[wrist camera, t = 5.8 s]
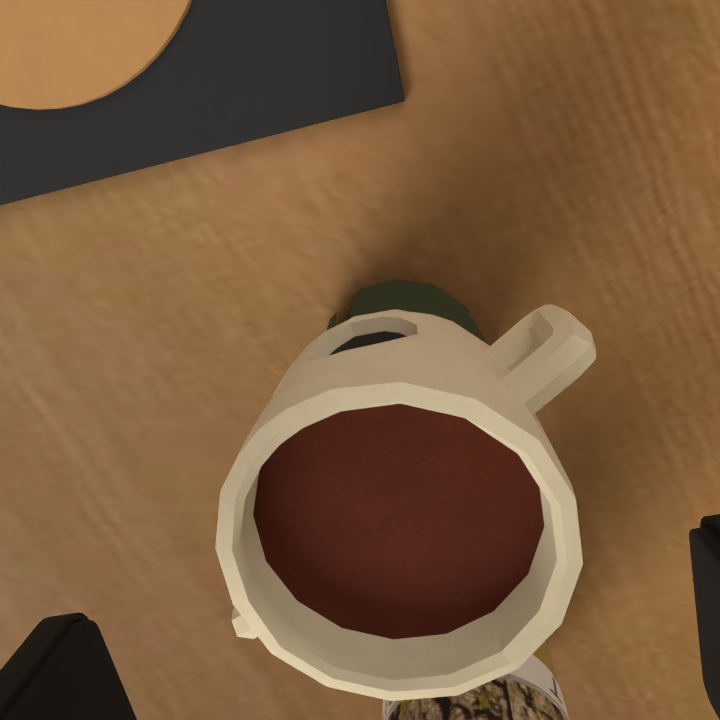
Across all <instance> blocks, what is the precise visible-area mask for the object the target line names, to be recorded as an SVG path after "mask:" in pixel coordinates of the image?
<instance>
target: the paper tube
mask: <svg viewBox="0 0 720 720" xmlns="http://www.w3.org/2000/svg"><path fill="white" fill-rule="evenodd" d="M382 720H569V716H568V713H567V709H566V706H565V703H564V699H563V696H562V692H561V690H560V687H559V684H558V681H557V677H556V674H555V670H554V667H553V663H552V660H551V656H550V653H549V649H548V646H547V642H546V640H545V641H544V642H543V643H542V644H541V645H540V646H539V648H538V649H537V650H536V651H535V652H534V653H533V654H532V655H531V656H530V657H529V658H528V659H527V660H526V661H525V662H524V663H523V664H522V665H521V666H520V667H519V668H518V669H517V670H514V671H512V672H510V673H508V674H505V675H503V676H501V677H499V678H496V679H494V680H492V681H489V682H487V683H485V684H483V685H480V686H478V687H476V688H474V689H471V690H469V691H467V692H465V693H462V694H460V695H457V696H445V697H434V698H422V699H410V700H398V701H389V700H384V699H383V712H382Z"/></svg>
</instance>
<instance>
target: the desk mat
mask: <svg viewBox="0 0 720 720" xmlns="http://www.w3.org/2000/svg"><path fill="white" fill-rule="evenodd" d="M403 101H405V98H404V93H403V88H402V83H401V77H400V72H399V67H398V62H397V57H396V52H395V47H394V42H393V37H392V32H391V27H390V22H389V17H388V12H387V6H386V1H385V0H0V205H3V204H7V203H11V202H14V201H18V200H22V199H26V198H30V197H34V196H38V195H42V194H46V193H49V192H53V191H57V190H61V189H65V188H69V187H73V186H77V185H81V184H84V183H88V182H92V181H96V180H100V179H104V178H108V177H112V176H116V175H119V174H123V173H127V172H131V171H135V170H139V169H143V168H147V167H151V166H154V165H158V164H162V163H166V162H170V161H174V160H178V159H182V158H186V157H189V156H193V155H197V154H201V153H205V152H209V151H213V150H217V149H221V148H224V147H228V146H232V145H236V144H240V143H244V142H248V141H252V140H256V139H259V138H263V137H267V136H271V135H275V134H279V133H283V132H287V131H291V130H294V129H298V128H302V127H306V126H310V125H314V124H318V123H322V122H326V121H329V120H333V119H337V118H341V117H345V116H349V115H353V114H357V113H361V112H364V111H368V110H372V109H376V108H380V107H384V106H388V105H392V104H396V103H399V102H403Z"/></svg>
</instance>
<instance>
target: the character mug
mask: <svg viewBox="0 0 720 720" xmlns="http://www.w3.org/2000/svg"><path fill="white" fill-rule="evenodd" d="M336 315H337V313H336V314H335V315H334V316H333V317H332V318H331V319H330V321H329V325H328V328H327V331H325V332H323V333H322V334H321V335H320V336H318V337H317V338H316V339H315V340H313V341H312V342H311V343H310V344H308V345H307V346H306V347H305V349H304V350H303V351H302V352H301V353H300V354H299V356H298V357H297V358H296V359H295V360H294V362H293V363H292V364H291V365H290V367H289V368H288V370H287V372H286V373H285V375H284V377H283V378H282V380H281V382H280V383H279V385H278V386H277V388H276V390H275V391H274V395H273V396H272V398H271V399H270V401H269V402H268V404H267V405H266V407H265V409H264V410H263V412H262V414H261V415H260V417H259V418H258V420H257V422H256V423H255V425H254V427H253V428H252V430H251V432H250V434H249V435H248V437H247V439H246V440H245V442H244V444H243V446H242V448H241V450H240V452H239V454H238V457H237V459H236V461H235V463H234V465H233V467H232V469H231V471H230V473H229V475H228V477H227V479H226V481H225V483H224V485H223V487H222V489H221V491H220V502H219V513H218V524H217V536H216V547H215V548H216V551H217V554H218V558H219V561H220V564H221V567H222V570H223V574H224V577H225V580H226V583H227V586H228V590H229V593H230V596H231V599H232V603H233V605H234V609H233V612H232V623H233V626H234V628H235V631H236V634H237V636H238V637H244V638H251V639H254V638H256V637H259V638H260V640H261V641H262V642H263V643H264V645H265V646H266V647H267V649H268V650H269V651H270V652H271V654H273V655H275V656H276V657H278V658H280V659H281V660H283V661H285V662H286V663H288V664H290V665H291V666H293V667H295V668H296V669H298V670H300V671H301V672H303V673H305V674H307V675H308V676H310V677H312V678H313V679H315V680H317V681H318V682H320V683H322V684H323V685H325V686H327V687H331V688H335V689H340V690H344V691H349V692H353V693H358V694H362V695H367V696H371V697H375V698H380V699H384V700H389V701H398V700H410V699H422V698H434V697H445V696H457V695H460V694H462V693H465V692H467V691H469V690H471V689H474V688H476V687H478V686H480V685H483V684H485V683H487V682H489V681H492V680H494V679H496V678H499V677H501V676H503V675H505V674H508V673H510V672H512V671H514V670H517V669H518V668H519V667H520V666H521V665H522V664H523V663H524V662H525V661H526V660H527V659H528V658H529V657H530V656H531V655H532V654H533V653H534V652H535V651H536V650H537V649H538V648H539V646H540V645H541V644H542V643H543V642H544V641H545V640H546V639H547V638H548V637H549V636H550V635H551V634H552V633H553V632H554V631H555V630H556V629H557V628H558V627H559V626H560V625H561V624H562V622H563V619H564V616H565V613H566V610H567V608H568V605H569V602H570V599H571V596H572V594H573V591H574V588H575V585H576V582H577V580H578V577H579V574H580V571H581V568H582V565H583V559H582V550H581V541H580V532H579V523H578V513H577V504H576V498H575V494H574V491H573V488H572V484H571V482H570V480H569V478H568V476H567V474H566V472H565V471H564V469H563V467H562V465H561V463H560V461H559V459H558V457H557V455H556V453H555V451H554V449H553V447H552V445H551V443H550V441H549V439H548V437H547V435H546V433H545V432H544V430H543V428H542V426H541V424H540V422H539V420H538V418H537V416H536V414H535V413H536V412H537V411H539V410H540V409H541V408H542V407H544V406H545V405H546V404H547V403H548V402H550V401H551V400H552V399H553V398H555V397H556V396H557V395H558V394H560V393H561V392H562V391H563V390H564V389H566V388H567V387H568V386H569V385H571V384H572V383H573V382H574V381H575V380H577V379H578V378H579V377H580V376H581V375H582V374H583V372H584V371H585V370H586V369H587V368H588V367H589V366H590V365H591V364H592V363H593V362H594V361H595V360H596V347H595V344H594V340H593V337H592V333H591V332H590V331H589V330H588V329H587V328H586V327H585V326H584V325H583V324H581V323H580V322H579V321H578V320H577V319H576V318H575V317H574V316H573V315H572V314H570V313H569V312H568V311H567V310H565V309H562V308H560V307H558V306H555V305H543V306H541V307H539V308H537V309H535V310H533V311H532V312H531V313H529V314H528V315H526V316H525V317H523V318H522V319H521V320H520V321H519V322H518V323H517V324H515V325H514V326H513V327H512V328H511V329H510V330H509V331H507V332H506V333H505V334H504V335H503V336H502V337H500V338H499V339H498V340H497V341H496V342H495V343H494V344H492V345H491V346H489V345H488V344H486V343H485V339H484V338H483V336H482V334H481V332H480V331H479V329H478V327H477V326H476V324H475V322H474V320H473V319H472V317H471V315H470V314H469V312H468V310H467V308H466V307H465V306H463V305H462V304H460V303H459V302H457V301H456V300H455V299H453V298H452V297H450V296H449V295H447V294H446V293H444V292H443V291H441V290H440V289H438V288H437V287H436V286H434V285H431V284H423V283H416V282H408V281H400V280H392V281H389V282H386V283H382V284H379V285H375V286H372V287H369V288H365V289H362V290H360V291H359V292H358V293H357V294H356V295H355V296H354V297H353V302H352V307H351V312H350V315H349V316H348V317H347V319H346V321H345V322H343V323H341V324H339V325H337V326H335V324H336Z"/></svg>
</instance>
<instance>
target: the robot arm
mask: <svg viewBox="0 0 720 720" xmlns="http://www.w3.org/2000/svg"><path fill="white" fill-rule="evenodd" d="M689 541H690V551H691V561H692V572H693V582H694V592H695V602H696V613H697V623H698V633H699V644H700V654H701V664H702V674H703V681H704V685H705V689H706V692H707V695H708V698H709V700H710V703H711V705H712V707H713V709H714V710H715V712H716V714H717V716H718V717H719V719H720V514H718V515H711V516H705V517H703V518H702V519H701V523H700V528H696V529H691V530H690V533H689ZM0 720H137V719H136V717H135V714H134V712H133V709H132V707H131V704H130V702H129V700H128V697H127V695H126V692H125V690H124V688H123V685H122V683H121V680H120V678H119V676H118V673H117V671H116V668H115V666H114V663H113V661H112V659H111V656H110V654H109V651H108V649H107V647H106V644H105V642H104V639H103V637H102V635H101V632H100V630H99V627H98V626H97V624H96V623H95V622H94V621H91V620H89V619H88V618H87V616H85V615H84V614H83V613H72V614H66V615H59V616H53V617H48V618H45V619H43V620H42V621H41V622H40V623H39V624H38V625H37V626H36V627H35V629H34V630H33V631H32V632H31V634H30V635H29V636H28V637H27V638H26V640H25V641H24V642H23V643H22V645H21V646H20V647H19V648H18V649H17V651H16V652H15V653H14V654H13V656H12V657H11V658H10V659H9V661H8V662H7V663H6V664H5V665H4V667H3V668H2V669H1V670H0Z"/></svg>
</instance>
